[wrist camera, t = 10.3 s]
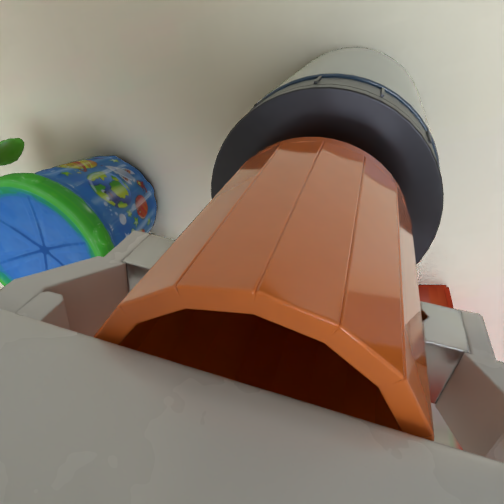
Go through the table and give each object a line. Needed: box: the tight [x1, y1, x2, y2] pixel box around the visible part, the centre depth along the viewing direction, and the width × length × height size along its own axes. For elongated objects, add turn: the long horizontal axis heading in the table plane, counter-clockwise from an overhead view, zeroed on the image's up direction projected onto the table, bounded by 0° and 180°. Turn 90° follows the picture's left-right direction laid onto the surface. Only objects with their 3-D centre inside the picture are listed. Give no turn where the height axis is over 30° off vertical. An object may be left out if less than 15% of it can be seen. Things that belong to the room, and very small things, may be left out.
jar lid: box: [211, 76, 444, 264], centre depth 16 cm, size 9×9×2 cm
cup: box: [93, 137, 435, 441], centre depth 11 cm, size 6×6×8 cm
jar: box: [250, 47, 440, 170], centre depth 21 cm, size 9×9×13 cm
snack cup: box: [0, 138, 157, 286], centre depth 30 cm, size 16×10×10 cm
